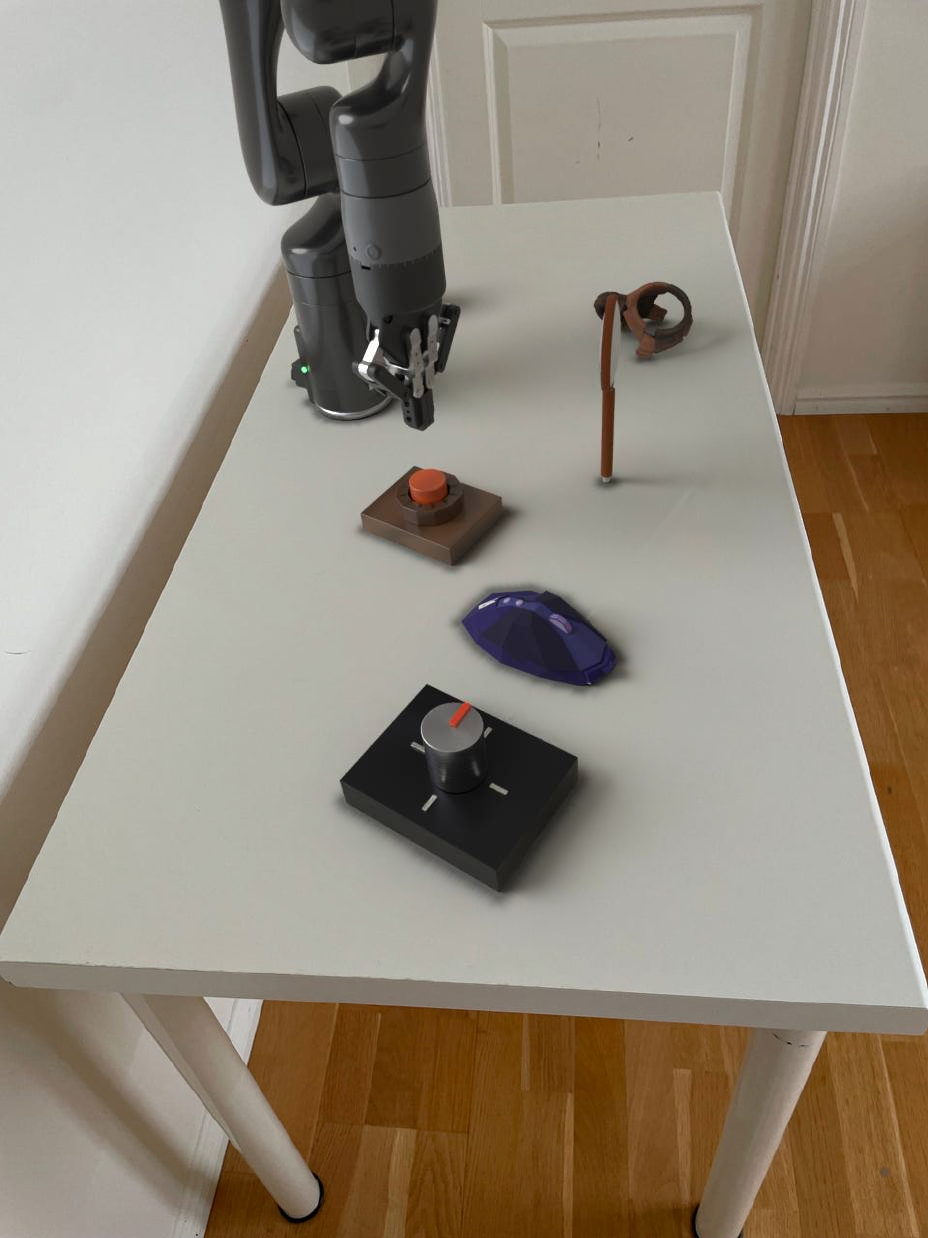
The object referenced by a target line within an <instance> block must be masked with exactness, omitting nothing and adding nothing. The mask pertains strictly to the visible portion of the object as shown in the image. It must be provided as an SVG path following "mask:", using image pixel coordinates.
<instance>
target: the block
mask: <svg viewBox="0 0 928 1238" xmlns="http://www.w3.org/2000/svg"><path fill="white" fill-rule="evenodd" d="M424 469H425V468H422V467H420V466H417V465H413V466H412V467H410V469H409V470H408V471H406V472H405V473H404V474H403V475H402V476H401V477H400V478H399V479H398V480H396V481H395V482H394V483H392V485H391V486H389V487H388V488H387V489H386V490H385V491H384V492H382V494H380V495H379V496H378V497H377V498H376V499H375V500H374V501H372V502H371V503H370V504H369V505H368V506H367V507H366V508H365V509H363V510H362V511H361V512H360V519H361V524H362V528H363V531H365V532H367V533H370V534H372V535H375V536H377V537H380V538H382V539H385V540H387V541H389V542H391V543H394V544H397V545H398V546H402V547H404V548H407V549H410V550H412V551H413V552H416V553H418V554H421V555H424V556H426V557H428V558H431V559H433V560H436V561H438V562H440V563H443V564H445V565H448V566H451V567H452V566H454V565H455V564H456V562H458V561H459V560H460V559H461V558H462V557H463V556H464V554H466V553H467V552H468V551H469V550H470V548H471V547H472V546H473V545H474V544H476V542H477V541H478V540H479V539H480V538H481V537H482V536H483V535H484V534H485V533H486V532H487V531H488V530H489V529H490V528H491V527H492V526H493V525H494V524H495V523H496V522H497V521H498V520H499V519H500V518H501V517H502V516H503V515H504V508H503V497H502V496H500V495H498V494H494V493H493V492H489V491H486V490H483V489H480V488H478V487H475V486H473V485H469V484H467V483H464V482H461V481H460V480H459V479H458V477H457V476H456V475H455V474H452V473H449V472H447V471H444V470H440V471H441V472H442V473H444V475H445V476H446V483H447V491H448V493H447V496H446V497H445V499H443V500H442V501H439V502H437V503H434V504H419V503H417V502H415V501H414V500H413V499H412V497H411V491H410V485H409V480H410V478H411V476H412V475H413V474H414V473H416V472H418V471H420V470H424Z"/></svg>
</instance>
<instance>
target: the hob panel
mask: <svg viewBox="0 0 928 1238" xmlns="http://www.w3.org/2000/svg"><path fill="white" fill-rule="evenodd" d="M464 702H465V701H463V700H461V699H460V698H457V697H455V696H454V695H450V694H449V693H448V692H445V691H443V690H441V689H439V688H437V687H434V686H432V685H430V684H428V683H426V684H424V686H423V687H422V688H421V689H420V691H418V692H417V694H416V695H415V696H414V697H413V698H412V699H411V701H410V702H408V704H407V705H405V707H404V708H403V710H401V711H400V713H399V714H398V715H397V716H396V717H395V718H394V719H393V720H392V722H390V724H389V725H388V726H387V727H386V728H385V729H384V730H383V731H382V732H381V734H380V735H379V736H378V737H377V738H376V739H375V740H374V741H373V743H372V744H371V745H370V746H369V747H368V748H367V749H366V751H364V752H363V754H362V755H361V756H360V757H359V758H358V759H357V760H356V762H354V764H353V765H352V766H351V767H350V768H349V769H348V770H347V772H346V773H345V774H344V775H343V776H342V777H341V778H340V779H339V782H340V786H341V790H342V794H343V797H344V798H345V802H346V804H348V805H349V806H351V807H353V808H355V809H356V810H358V811H359V812H361V813H363V814H365V815H367V816H368V817H370V818H371V819H373V820H374V821H376V822H379V823H380V824H382V825H384V826H385V827H386V828H389V829H390V830H392V831H394V832H395V833H397V834H399V835H401V836H403V837H404V838H405V839H407V840H409V841H411V842H412V843H415V845H418V846H419V847H421V848H423V849H425V850H426V851H428V852H430V853H431V854H433V855H434V856H437V857H438V858H439V859H442V861H445V862H447V863H448V864H450V865H452V866H453V867H455V868H456V869H459V870H460V871H462V872H464V873H465V874H467V875H468V876H470V877H472V878H474V879H476V880H477V881H479V882H481V883H482V884H485V885H486V886H488V887H489V888H491V889H493V890H494V891H496V892H497V893H499V892H500V891H501V889H502V888H503V887H504V886H505V884H506V882H507V881H508V879H509V878H510V877H511V875H513V872H514V871H515V870H516V868H517V867H519V865H520V864H521V862H522V860H523V858H524V857H525V856H526V855H527V853H528V851H529V850H530V849H531V847H532V846H533V844H534V843H535V841H536V840H537V839H538V838H539V836H540V835H541V833H542V831H544V830H545V827H546V826H547V825H548V823H549V822H550V821H551V819H552V818H553V816H554V815H555V813H556V812H557V811H558V810H559V808H560V807H561V805H562V803H563V802H564V801H565V799H566V798H567V796H568V795H569V794H570V792H571V791H572V789H573V788H574V787H575V785H576V784H577V782H578V781H579V757H578V756H576V755H574V754H573V753H570V752H568V751H566V750H564V749H562V748H560V747H558V746H556V745H554V744H552V743H550V742H548V741H546V740H544V739H541V738H539V737H537V736H535V735H534V734H531V733H530V732H527V731H525V730H523V729H521V728H519V727H517V726H515V725H513V724H511V723H508V722H507V721H504V720H503V719H500V718H498V717H496V716H494V715H492V714H490V713H488V712H487V711H484V710H482V709H480V708H478V707H476V706H474V705H472V704H471V707H472V708H474V709H475V710H476V711H477V712H478V713H479V714H480V716H481V718H482V721H483V727H484V736H485V745H486V753H487V762H488V771H487V774H486V776H485V778H484V780H483V781H482V782H481V783H480V784H479V785H478V786H477V787H475V788H474V789H472V790H469V791H466V792H462V793H451V792H447V791H444V790H442V789H440V788H438V787H437V786H436V785H435V784H434V783H433V782H432V780H431V778H430V775H429V771H428V765H427V760H426V755H425V750H424V745H423V739H422V734H421V725H422V722H423V720H424V718H425V716H426V715H427V714H428V713H429V712H430V711H431V710H432V709H434V708H436V707H437V706H440V705H442V704H446V703H462V704H463V703H464Z"/></svg>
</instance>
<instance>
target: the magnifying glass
mask: <svg viewBox="0 0 928 1238" xmlns="http://www.w3.org/2000/svg"><path fill="white" fill-rule="evenodd" d="M600 329H601V330H600V339H599V374H600V388H601V392H602V395H601V396H602V401H601V403H602V404H601V437H600V438H601V439H600V445H601V447H600V476H601V477H602V482H603V483H609V482H611V477H612V476H613V467H614V439H615V438H614V437H615V436H614V435H615V410H616V409H615V408H616V407H615V405H616V388H615V387H614V385H615V378H616V376H617V371H618V365H619V359H620V351H621V350H620V349H621V337H622V336H621V335H622V334H621V332H622V329H621V322H620V311H619V297H618V295H615V294H611V295H609V296H608V298H607V301H606V307H605V313H604V317H603V321H602V322H601V328H600Z"/></svg>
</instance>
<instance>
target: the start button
mask: <svg viewBox="0 0 928 1238" xmlns="http://www.w3.org/2000/svg"><path fill="white" fill-rule="evenodd" d="M423 469H424V470H420V471H418V472H416V473H414V474H413V475H412V476H411V478H410V480H409V485H410V491H411V497H412V499H413V500H414V501H415V502H417V503H419V504H434V503H437V502H439V501H442V500H443V499H445V497H446V496H447V493H448V491H447V483H446V476H445V475H444V473H442V472H441V471H442V470H439V469H436V468H423Z"/></svg>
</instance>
